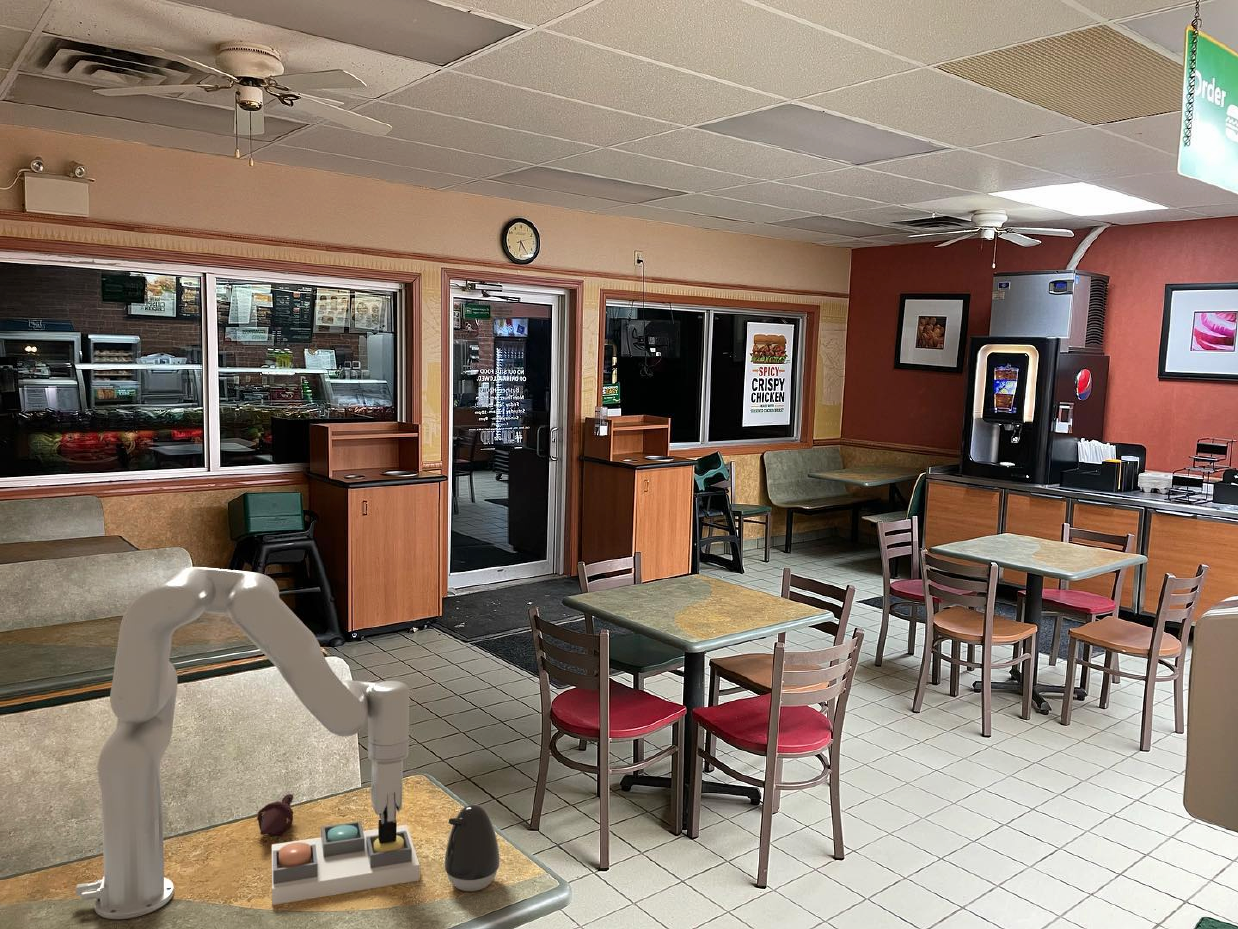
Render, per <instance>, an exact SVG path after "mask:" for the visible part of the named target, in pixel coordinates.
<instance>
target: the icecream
mask: <svg viewBox="0 0 1238 929" xmlns="http://www.w3.org/2000/svg"><path fill="white" fill-rule="evenodd" d="M293 800H294V795H293V794H291V793H289V794H286V795H284V796H283V798H282V800H281V801H279V800H278V801H274V802H271V803H268V804H266V805H265V806H264V807H262V808H261V809H260V810H258V811H257V816H256V819H257V823H258V827H259V830H260V832H259V833H260V836H261V835H262V836H263V835H268V836H269V837H282V836H284V835H285V834H286V833H287V832H288V831H289V830H290V829H291V828H292V825H293V822H294V811H293V809H292V808H291V804H292V802H293Z"/></svg>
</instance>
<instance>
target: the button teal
mask: <svg viewBox="0 0 1238 929" xmlns="http://www.w3.org/2000/svg"><path fill="white" fill-rule="evenodd" d="M355 838H357V828H356V827H354V826H351V825H341V826H337V827H334V828H332V829H330V830H329V831H328V842H335V841H341V840H348V839H355Z"/></svg>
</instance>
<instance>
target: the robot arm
mask: <svg viewBox="0 0 1238 929" xmlns="http://www.w3.org/2000/svg"><path fill="white" fill-rule="evenodd" d="M203 613H211V614H223V615H224V614H225V615H228V617H229V619H230V620H231V621H232V622H233V623H234V625H235V626H236V627H237V628H238V629H239V630H240V631H241V632H242V633H243V634H244V635H245V636H246V637H247V639H248V640H250V641H251V642H252V643H253V645H254V646H256V648H257V649H258V650H259V651H260V652H261V653H262V654H264V656H265V657H266V658H267V659H268V660H269V661H270V662H271V663H272V664H273V665H274V666H275V667H276V669H277V670H278V671H279V674H281V676H282V678H283V679H284V681H285V683H286V684H288V686H289V688H291V690H292V691H293V693H294V694H295V696H296V697H297V698H298V700H299V701H300V702H301V703H302V704H303V706H304V707H305V708H306V709H307V711H308V712H309V713H310V714H311V715H312V716H313V717H315V718H316V720H317V721H318V722H319V723H320V724H321V725H322V726H323V727H324V728H325V729H326V730H327V731H329V732H330V733H332V734H334V735H336V736H339V737H345V738H346V737H347V738H348V737H352V736H355V735H356V734H358V733H359V732H361V730H363V729H364V728H365V725H366V724H367V722H368V725H367V726H368V728H367V734H368V735H367V739H368V740H367V758H368V759H369V760H370V761H371V782H370V798H371V799H370V801H371V803H372V804H371V805H372V807H373V811H374V813H375V815H379V817H378V818H379V819H378V826H377V827H378V828H377V829H378V839H379V843H381V844H382V843H389V842H395V841H396V831H397V826H398V825H397V824H398V823H397V812H398V813H400V811H401V810H402V807H403V781H404V780H403V774H404V773H403V772H404V767H403V766H404V765H403V763H404V762H403V760H405V759H406V758H407V757H408V756H409V750H410V749H409V748H410V747H409V744H410V742H409V741H410V740H409V738H410V737H409V736H410V689H409V686H408V685H407V684H405V683H404V682H402V681H399V680H385V681H384V680H383V681H380V682H372V681H362V680H340V678H339V677H338V676H337V674H336V673H335V672H334V671H333V669H332V668H331V666H330V664H329V663H328V661H327V659H326V658H325V655H324V652H323V650H322V648H321V645H320V643H319V641H318V639H317V637H316V635H315V634H314V632H312V630H310V629H309V628H308V627H307V625H305V624H304V623H303V621H302V620H301V619H300V618H299V617H298V616H297V615H296V614H295V613H294V611H293V610H291V608H289V606H288V605H286V603H285V602H284V601H283V600H282V599H281V598H280V590H279V587H278V585H277V583H276V582H275V580H274V579H273V578H271V577H270V576H268V575H266V574H263V573H260V572H253V571H244V570H235V569H233V570H231V569H223V568H221V569H220V568H214V567H200V566H191V567H185V568H184V567H183V568H182V569H179V570H178V571H176V572H174V573H173V574H171V576H169V577H168V578H167V579H166V580H165V581H164V582H163V583H160V584H159V585H157V586H155V587H153V588H150V589H149V590H147V591H145V592H143V593H142V594H140V595H139V596H138V597H136V598H135V599H134V600H133V601H132V602H131V603H130V605H128V606H127V608H126V610H125V612H124V614H123V616H122V618H121V622H120V626H119V633H118V640H117V648H116V652H115V660H114V668H113V673H112V674H113V675H112V676H113V677H112V683H111V688H110V694H109V703H110V707H111V710H112V713H113V714H114V715H115V717H116V718H117V721H116V722H117V723H116V728H115V730H114V731H113V732H112V733H111V735H110V736H109V737H108V739H107V740H106V741H105V744H104V745H103V747H102V749H101V751H100V753H99V757H98V761H97V777H98V783H99V789H100V800H101V817H102V818H101V819H102V820H101V821H102V822H101V823H102V845H103V846H102V849H103V850H102V851H103V854H102V855H103V877H102V878H101V879H97V881H96V882H84V883H79V884H76V888H75V895H76V897H80V896H81V897H80V899H81V902H83V901H90V900H92V899H95V900H94V911H95V912H96V914H97V915H98V916H100V917H102V918H105V919H109V920H125V919H133V918H139V917H142V916H144V915H147V914H150V913H152V912H155V911H157V910H158V909H160V908H162V907H164V906H165V905H166V904H168V903H169V901H171V899H172V898H173V896H174V893H175V885H174V883H173V882H172V880H170V879H168V878H167V877H165V861H164V860H165V856H164V855H165V854H164V811H163V810H164V809H163V808H164V807H163V805H164V804H163V790H162V788H163V786H162V781H161V761H162V759H163V757H164V754H165V753H166V750H167V749H168V747H169V745H170V742H171V738H172V734H173V726H174V719H175V709H176V699H177V691H178V684H179V683H178V674H177V671H176V668H175V666H174V665H173V663H172V662H171V661H170V657H171V651H172V637H173V634H174V633H175V631H176V630H177V629H178V628H179V627H182V626H184V625H187V624H189V623H191V622H194V621H195V620H197V619H199V617H200V616H202V615H203Z"/></svg>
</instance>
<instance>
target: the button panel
mask: <svg viewBox="0 0 1238 929" xmlns="http://www.w3.org/2000/svg"><path fill="white" fill-rule="evenodd" d="M341 825H351V826H354V827H356V828H357V838H355V839H348V840H341V841H335V842H328V831H329V830H330V829H332V828H334V827H337V826H341ZM320 834H321V836H319V837H314V838H307V839H300V840H293V841H288V842H279V843H273V844H271V892H272V893H271V894H272V895H271V897H272V898H271V899H272V900H271V903H272V904H271V905H272V906H276V905H282V904H287V903H294V902H299V901H305V900H311V899H316V898H322V897H323V898H324V897H329V896H334V895H340V894H346V893H353V892H357V891H358V892H359V891H363V890H370V889H374V888H375V889H376V888H382V887H383V888H384V887H388V886H393V885H398V884H399V883H400V884H406V883H411V882H416V881H420V862H419V859H418V856H417V853H416V850H415V846H414V843H413V840H412V836H411V833H410V830H409V828H408V824H401V825H397V831H396V835H397V836H400V837H402V838H403V839H404V849H398V850H392V851H386V852H379V853H374V841H375V840H376V839H378V828H375V829H374V828H373V829H368V830H363V825H362V821H361V820H359V821H352V822H345V823H344V822H343V823H337V824H331V825H324V826H321V827H320ZM291 843H306V844H309V845H310V846H311V862H310V863H309V864H303V865H296V866H290V867H284V868H280V867H279V850H280V849H281V848H282V847H284V846H285V845H288V844H291Z"/></svg>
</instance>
